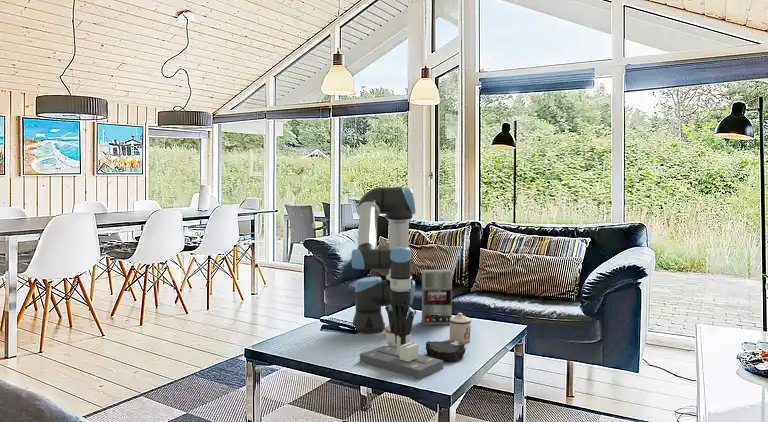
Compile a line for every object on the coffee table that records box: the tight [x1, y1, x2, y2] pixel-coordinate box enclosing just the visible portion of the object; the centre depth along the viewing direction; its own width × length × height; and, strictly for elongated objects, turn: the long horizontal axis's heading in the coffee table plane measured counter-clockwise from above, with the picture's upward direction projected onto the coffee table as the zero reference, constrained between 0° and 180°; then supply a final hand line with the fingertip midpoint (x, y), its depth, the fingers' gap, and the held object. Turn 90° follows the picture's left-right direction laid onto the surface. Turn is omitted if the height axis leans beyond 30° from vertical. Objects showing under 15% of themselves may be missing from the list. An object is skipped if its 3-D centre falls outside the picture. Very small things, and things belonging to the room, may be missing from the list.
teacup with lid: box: [449, 312, 472, 344], centre depth 244 cm, size 12×9×12 cm
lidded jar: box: [384, 325, 412, 349], centre depth 234 cm, size 11×11×9 cm
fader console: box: [359, 345, 444, 380], centre depth 212 cm, size 28×14×3 cm, turn 50°
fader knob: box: [400, 341, 419, 362], centre depth 209 cm, size 4×6×5 cm, turn 140°
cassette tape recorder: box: [421, 269, 453, 326], centre depth 270 cm, size 14×6×25 cm, turn 92°
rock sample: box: [425, 339, 467, 363], centre depth 223 cm, size 18×16×5 cm
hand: (400, 353), depth 212 cm, fingers closed
